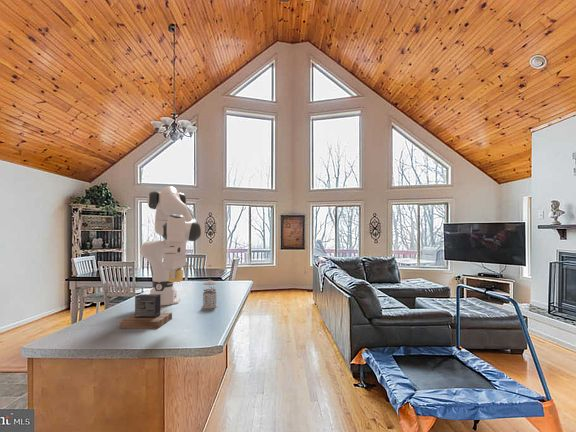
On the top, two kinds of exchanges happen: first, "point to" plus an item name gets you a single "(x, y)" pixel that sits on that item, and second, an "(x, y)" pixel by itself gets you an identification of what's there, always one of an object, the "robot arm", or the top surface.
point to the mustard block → (178, 276)
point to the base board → (146, 321)
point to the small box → (147, 305)
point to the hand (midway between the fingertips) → (175, 277)
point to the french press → (209, 295)
